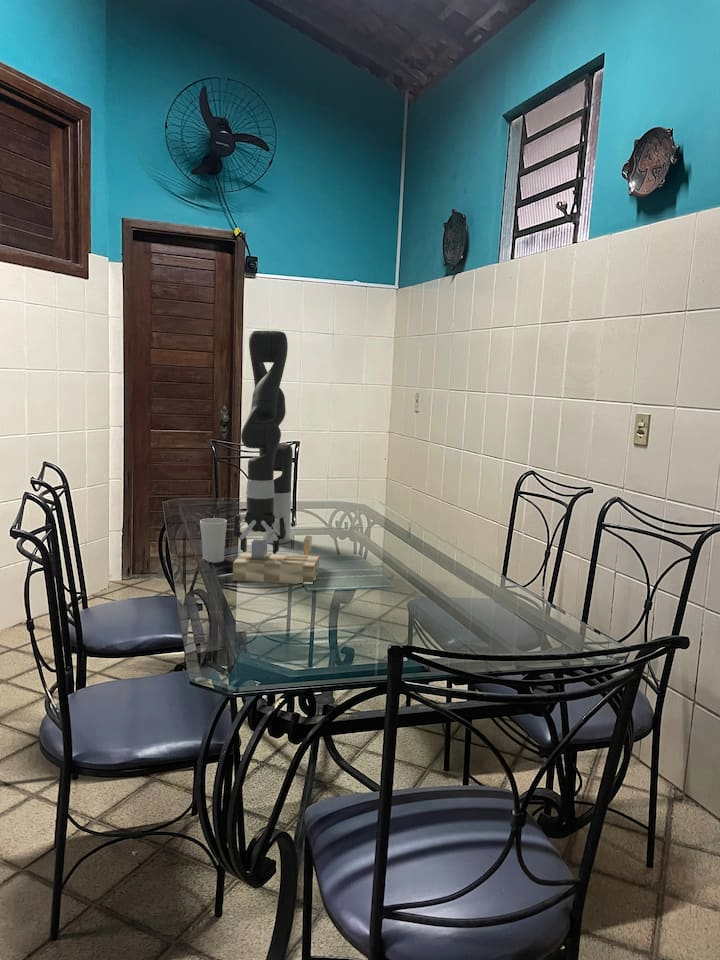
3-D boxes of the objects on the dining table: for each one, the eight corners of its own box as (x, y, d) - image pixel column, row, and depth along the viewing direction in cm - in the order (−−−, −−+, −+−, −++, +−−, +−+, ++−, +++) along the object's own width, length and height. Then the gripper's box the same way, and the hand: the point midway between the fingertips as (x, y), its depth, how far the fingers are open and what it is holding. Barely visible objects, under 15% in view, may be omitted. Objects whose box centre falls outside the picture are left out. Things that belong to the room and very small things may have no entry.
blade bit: (305, 564, 207) (306, 535, 205) (311, 565, 206) (311, 535, 205) (303, 569, 201) (304, 539, 200) (308, 569, 201) (309, 539, 200)
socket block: (243, 568, 200) (243, 551, 199) (318, 572, 199) (319, 555, 198) (232, 580, 188) (233, 562, 188) (313, 584, 187) (313, 566, 186)
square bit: (254, 573, 195) (254, 539, 194) (266, 574, 195) (267, 539, 194) (251, 577, 192) (251, 542, 190) (264, 578, 191) (264, 542, 190)
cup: (200, 563, 204) (200, 523, 202) (199, 556, 211) (199, 518, 210) (227, 562, 206) (228, 523, 204) (225, 556, 214) (226, 517, 212)
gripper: (288, 494, 194) (287, 550, 196) (238, 492, 195) (237, 548, 197) (283, 498, 186) (282, 557, 189) (231, 496, 187) (231, 554, 190)
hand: (259, 552), depth 193 cm, fingers open, 8 cm apart
